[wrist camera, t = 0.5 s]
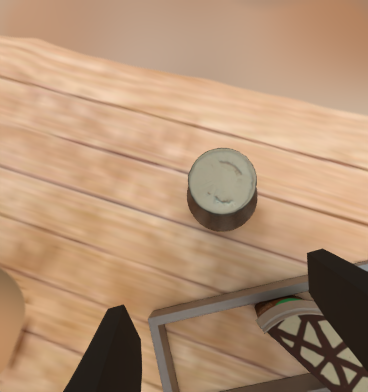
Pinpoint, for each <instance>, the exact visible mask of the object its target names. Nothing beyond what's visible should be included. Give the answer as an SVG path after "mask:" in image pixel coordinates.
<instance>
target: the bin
mask: <svg viewBox="0 0 368 392" xmlns="http://www.w3.org/2000/svg"><path fill="white" fill-rule="evenodd" d="M306 291H309V286H308V275H304V276H300V277H296V278H292V279H287V280H283V281H279V282H274V283H270V284H266V285H262V286H257V287H253V288H249V289H245V290H240V291H236V292H232V293H228V294H223V295H219V296H215V297H211V298H206V299H202V300H198V301H193V302H189V303H185V304H181V305H176V306H172V307H168V308H164V309H159V310H155V311H153V312H152V314H151V315H150V316H149V318H148V322H149V327H150V331H151V336H152V341H153V345H154V350H155V355H156V359H157V364H158V369H159V373H160V378H161V383H162V387H163V392H179V388H178V384H177V379H176V375H175V370H174V366H173V361H172V357H171V352H170V348H169V343H168V339H167V334H166V330H165V325H164V324H166V323H171V322H175V321H179V320H184V319H188V318H193V317H197V316H201V315H206V314H210V313H214V312H219V311H223V310H227V309H232V308H236V307H240V306H245V305H249V304H254V303H258V302H262V301H267V300H271V299H275V298H280V297H284V296H288V295H293V294H297V293H301V292H306ZM221 392H331V391H330V390H329V389H328V388H327V387H325V386H324V385H323V384H322V383H321V382H320V381H319V380H318V379H317V378H315V377H314V376H313V375H312V374H311V373H309V374H304V375H299V376H294V377H290V378H285V379H280V380H275V381H270V382H265V383H260V384H255V385H250V386H246V387H241V388H236V389H231V390H226V391H221Z"/></svg>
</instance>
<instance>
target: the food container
mask: <svg viewBox="0 0 368 392" xmlns="http://www.w3.org/2000/svg"><path fill="white" fill-rule="evenodd" d="M255 310H256V313H257V316H258V319H257V320H256V322H257V324H258V325H259V327H260V328H261V329H262V330H263V332H264V333H266V332H268V333H269V334H270V336H271V337H273V338H274V339H275V340H277V341H278V342H279V343H280V344H281V345H282V346H283V347H284V348H285V349H286V350H287V351H288V352H289V353H290V354H291V355H292V356H294V357H295V358H296V359H297V360H298V361H299V362H300V363H301V364H302V365H303V366H304V367H305V368H306V369H307V370H308V371H309V372H310V373H311V374H312V375H313V376H314V377H315V378H317V379H318V380H319V381H320V382H321V383H322V384H323V385H324V386H325V387H327V388H328V389H329V390H330V391H331V392H368V372H367V371H366V369H365V368H364V367H363V366H362V364H361V363H360V362H359V361H358V359H357V358H356V357H355V356H354V354H353V353H352V352H351V351H350V349H349V348H348V347H347V345H346V344H345V343H344V342H343V340H342V339H341V338H340V337H339V335H338V334H337V333H336V332H335V330H334V329H333V328H332V326H331V325H330V324H329V323H328V321H327V320H326V319H325V317H324V316H323V314H322V313H321V311H320V310H319V308H318V306H317V305H316V303H315V301H308V300H304V299H302V298H300V297H298V296H295V295H288V296H284V297H280V298H275V299H271V300H267V301H262V302H259V303H258V304H257V305H256V306H255Z"/></svg>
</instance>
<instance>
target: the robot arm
mask: <svg viewBox="0 0 368 392" xmlns="http://www.w3.org/2000/svg"><path fill="white" fill-rule="evenodd" d="M307 262H308V286H309V293H310V295H311V297H312V298H313V300H314V301H315V303H316V305H317V306H318V308H319V310H320V311H321V313H322V314H323V316H324V317H325V319H326V320H327V321H328V323H329V324H330V325H331V326H332V328H333V329H334V330H335V332H336V333H337V334H338V335H339V337H340V338H341V339H342V340H343V342H344V343H345V344H346V345H347V347H348V348H349V349H350V351H351V352H352V353H353V354H354V356H355V357H356V358H357V359H358V361H359V362H360V363H361V364H362V366H363V367H364V368H365V369H366V371H367V372H368V271H366V270H364V269H362V268H360V267H358V266H356V265H354V264H352V263H350V262H348V261H346V260H344V259H342V258H340V257H338V256H336V255H334V254H332V253H330V252H328V251H326V250H324V249H319V250H316V251H312V252H309V253H307ZM141 380H142V354H141V339H140V337H139V335H138V333H137V331H136V329H135V327H134V325H133V322H132V320H131V318H130V316H129V314H128V312H127V310H126V308H125V306H124V305H120V306H117V307H113V308H110V309H108V310H107V312H106V314H105V316H104V318H103V319H102V321H101V323H100V325H99V327H98V329H97V331H96V333H95V335H94V337H93V339H92V341H91V343H90V345H89V347H88V348H87V350H86V352H85V354H84V356H83V358H82V360H81V361H80V363H79V365H78V367H77V369H76V371H75V372H74V374H73V376H72V378H71V379H70V381H69V383H68V384H67V386H66V388H65V389H64V391H63V392H141Z"/></svg>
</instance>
